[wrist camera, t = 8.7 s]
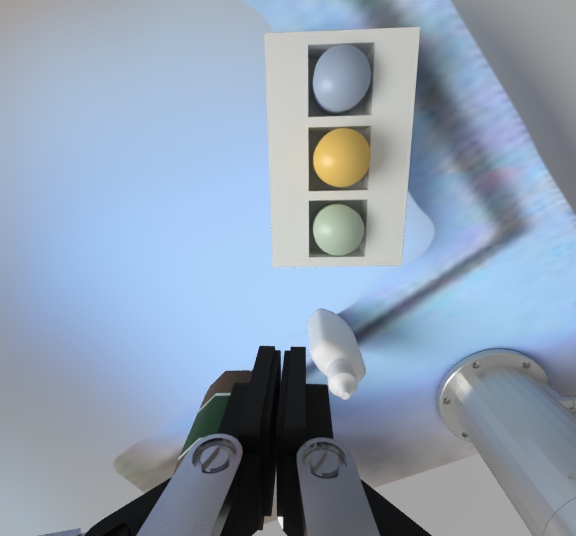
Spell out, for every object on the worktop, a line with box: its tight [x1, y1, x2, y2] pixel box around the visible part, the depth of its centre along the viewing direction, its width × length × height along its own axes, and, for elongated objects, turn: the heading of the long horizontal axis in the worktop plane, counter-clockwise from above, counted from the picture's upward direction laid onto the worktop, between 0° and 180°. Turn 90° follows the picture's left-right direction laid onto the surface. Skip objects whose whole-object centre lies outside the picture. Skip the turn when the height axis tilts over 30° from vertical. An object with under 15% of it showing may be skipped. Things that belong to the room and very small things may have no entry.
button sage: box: [312, 202, 364, 256], centre depth 30 cm, size 4×4×4 cm
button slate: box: [312, 44, 371, 116], centre depth 27 cm, size 4×4×4 cm
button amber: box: [313, 128, 371, 187], centre depth 27 cm, size 4×4×4 cm
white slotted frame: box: [264, 27, 420, 267], centre depth 30 cm, size 12×19×4 cm, turn 1°
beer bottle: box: [173, 370, 252, 475], centre depth 28 cm, size 8×8×24 cm
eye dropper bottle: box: [308, 309, 366, 400], centre depth 31 cm, size 4×6×12 cm
